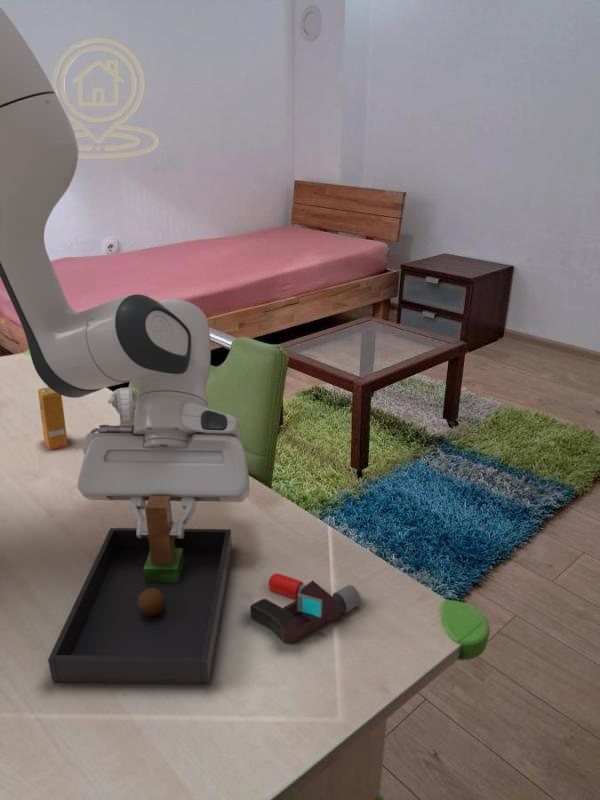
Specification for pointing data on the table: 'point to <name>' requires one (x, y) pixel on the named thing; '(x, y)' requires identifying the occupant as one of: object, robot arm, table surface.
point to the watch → (124, 404)
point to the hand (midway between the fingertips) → (160, 538)
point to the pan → (136, 633)
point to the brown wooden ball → (151, 602)
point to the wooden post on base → (161, 543)
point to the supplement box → (52, 418)
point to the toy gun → (302, 608)
